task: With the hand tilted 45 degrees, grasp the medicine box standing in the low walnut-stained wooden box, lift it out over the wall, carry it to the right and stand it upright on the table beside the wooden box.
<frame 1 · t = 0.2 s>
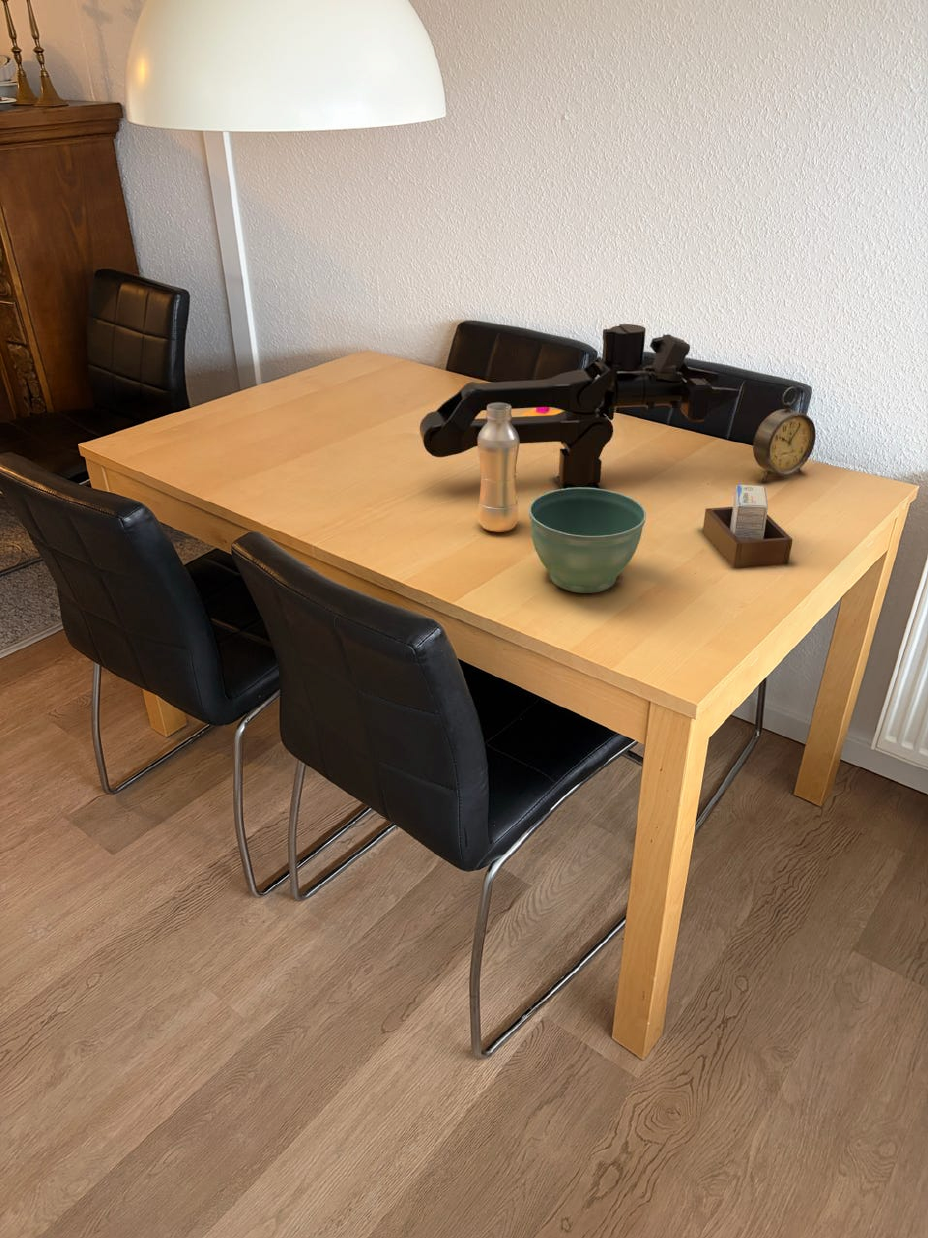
hand: (728, 384, 166), 17 cm above the table, tool horizontal, fingers open, 9 cm apart
alarm clock: (776, 477, 174), on the table
medicine box: (743, 548, 150), resting in wooden box
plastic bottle: (497, 528, 156), on the table
wooden box: (744, 547, 150), on the table
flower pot: (582, 580, 141), on the table
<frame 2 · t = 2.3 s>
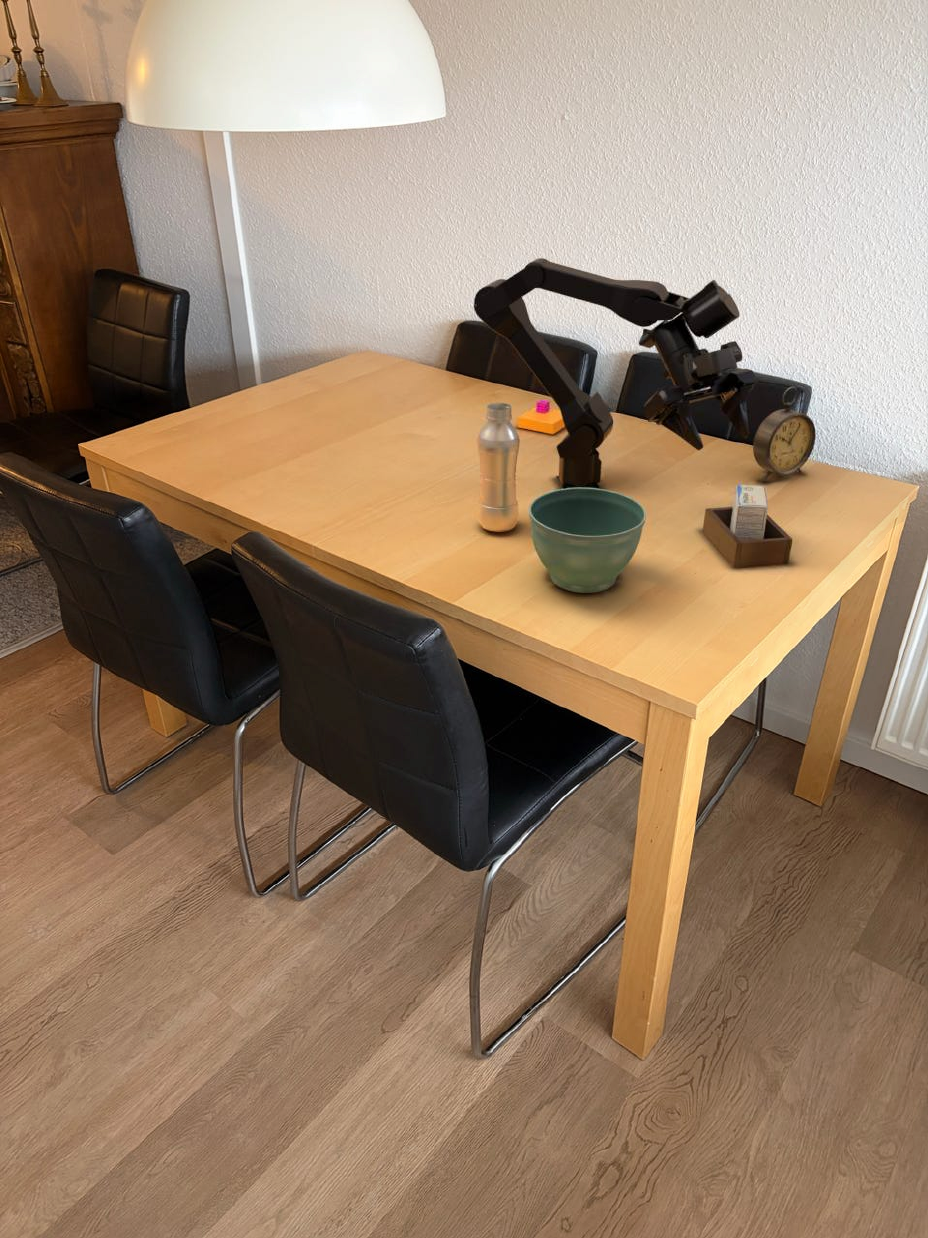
hand: (724, 442, 150), 14 cm above the table, tool tilted 45°, fingers open, 9 cm apart
nothing on the table moved.
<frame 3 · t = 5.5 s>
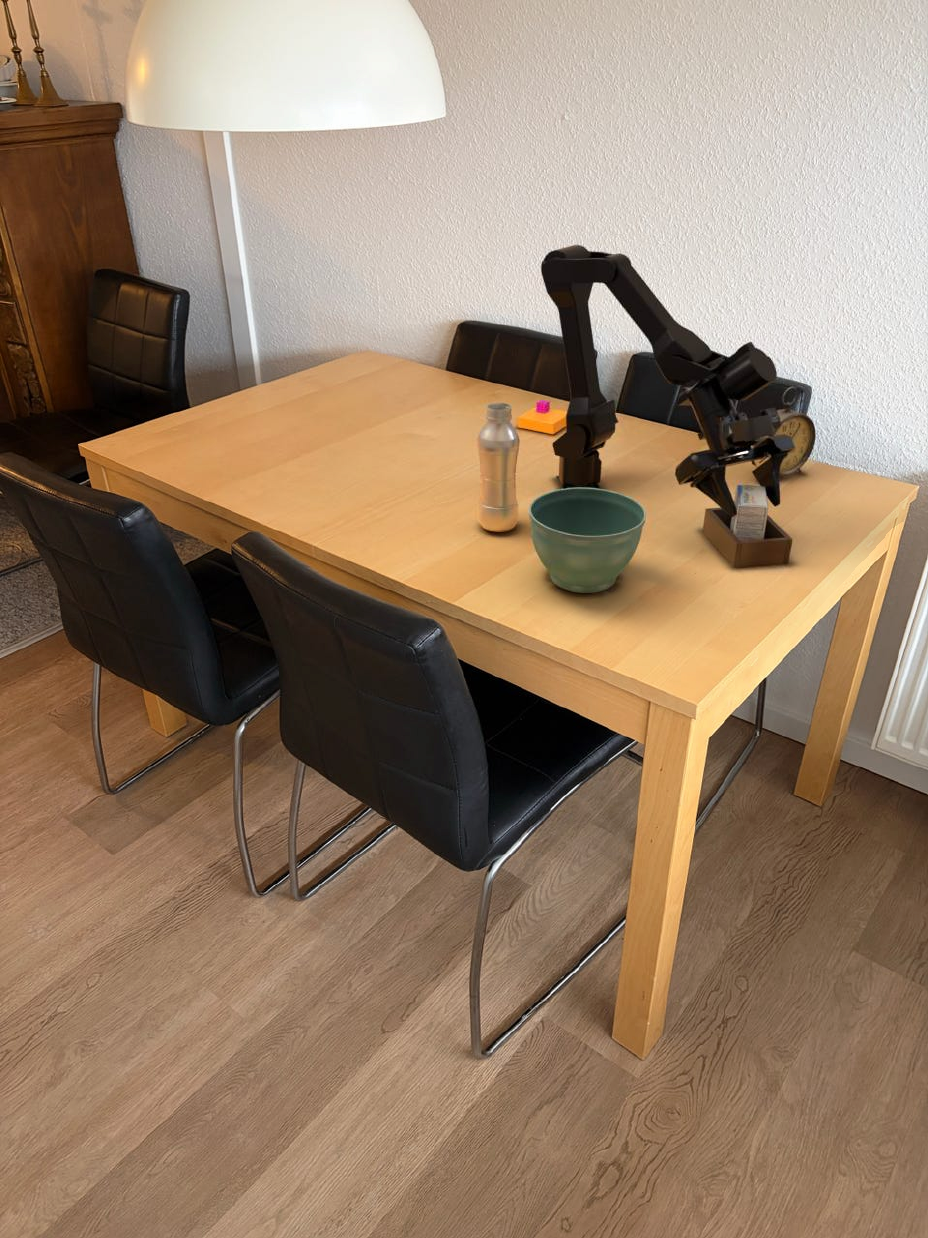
hand: (756, 510, 145), 7 cm above the table, tool tilted 45°, fingers closed on medicine box, 8 cm apart
medicine box: (743, 548, 150), resting in wooden box, touching gripper
everything else where it was.
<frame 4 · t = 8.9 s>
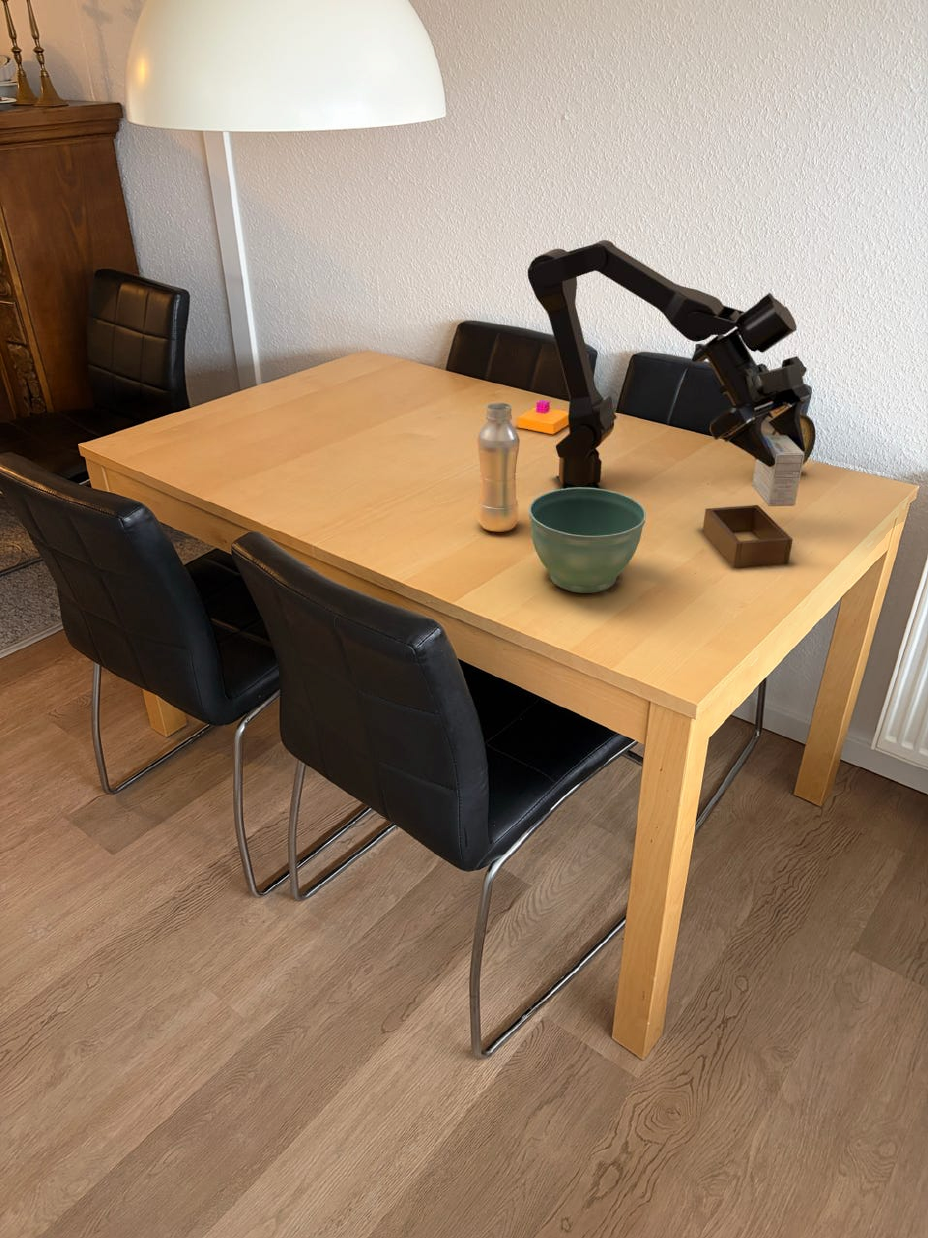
hand: (787, 458, 148), 12 cm above the table, tool tilted 45°, fingers closed on medicine box, 8 cm apart
medicine box: (772, 497, 152), point 5 cm above the table, touching gripper
everything else where it was.
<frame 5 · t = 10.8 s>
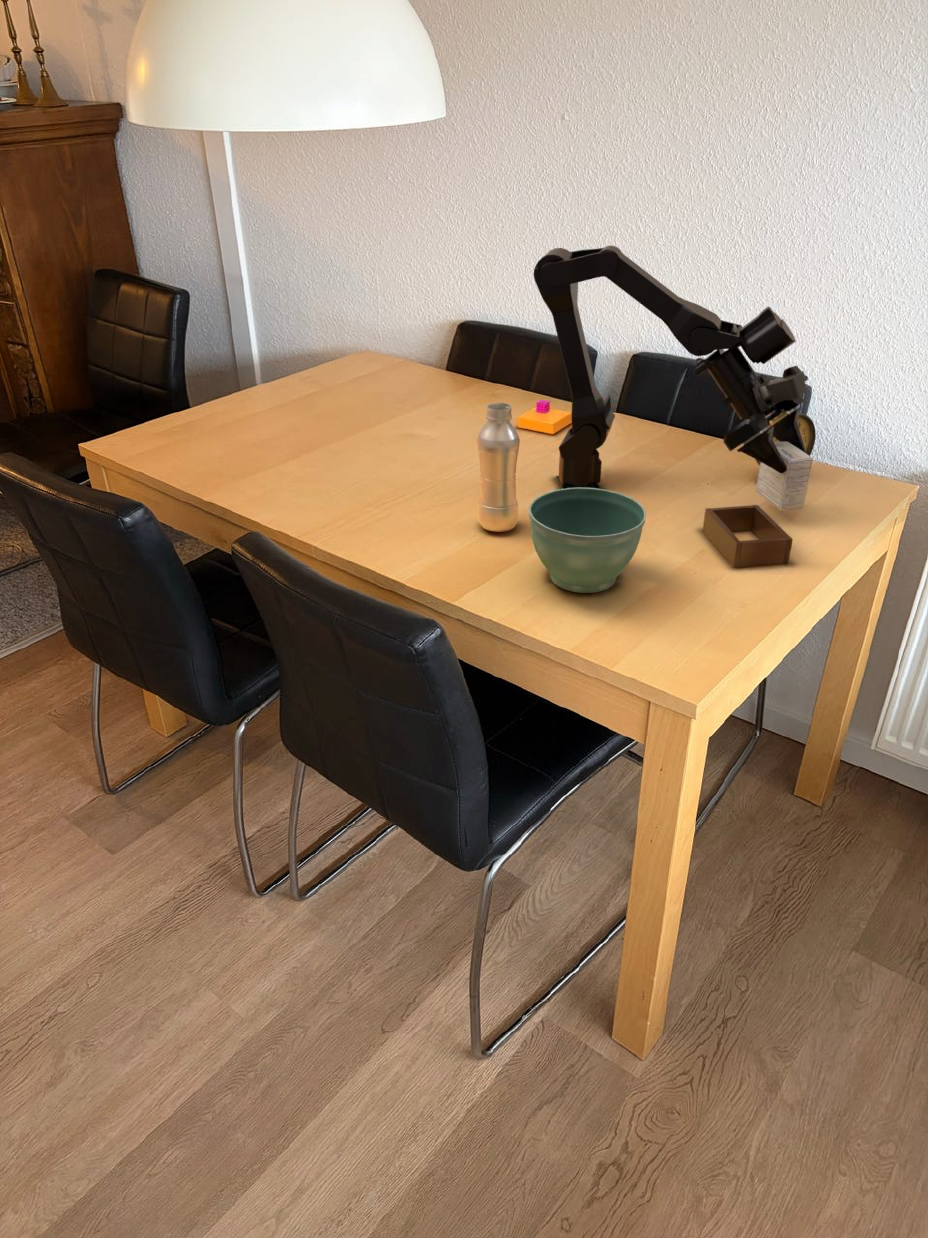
hand: (794, 464, 154), 9 cm above the table, tool tilted 45°, fingers closed on medicine box, 8 cm apart
medicine box: (778, 501, 158), point 2 cm above the table, touching gripper
everything else where it was.
when the fingers open (7 cm above the table, at t = 12.2 s): medicine box stays where it is, on the table.
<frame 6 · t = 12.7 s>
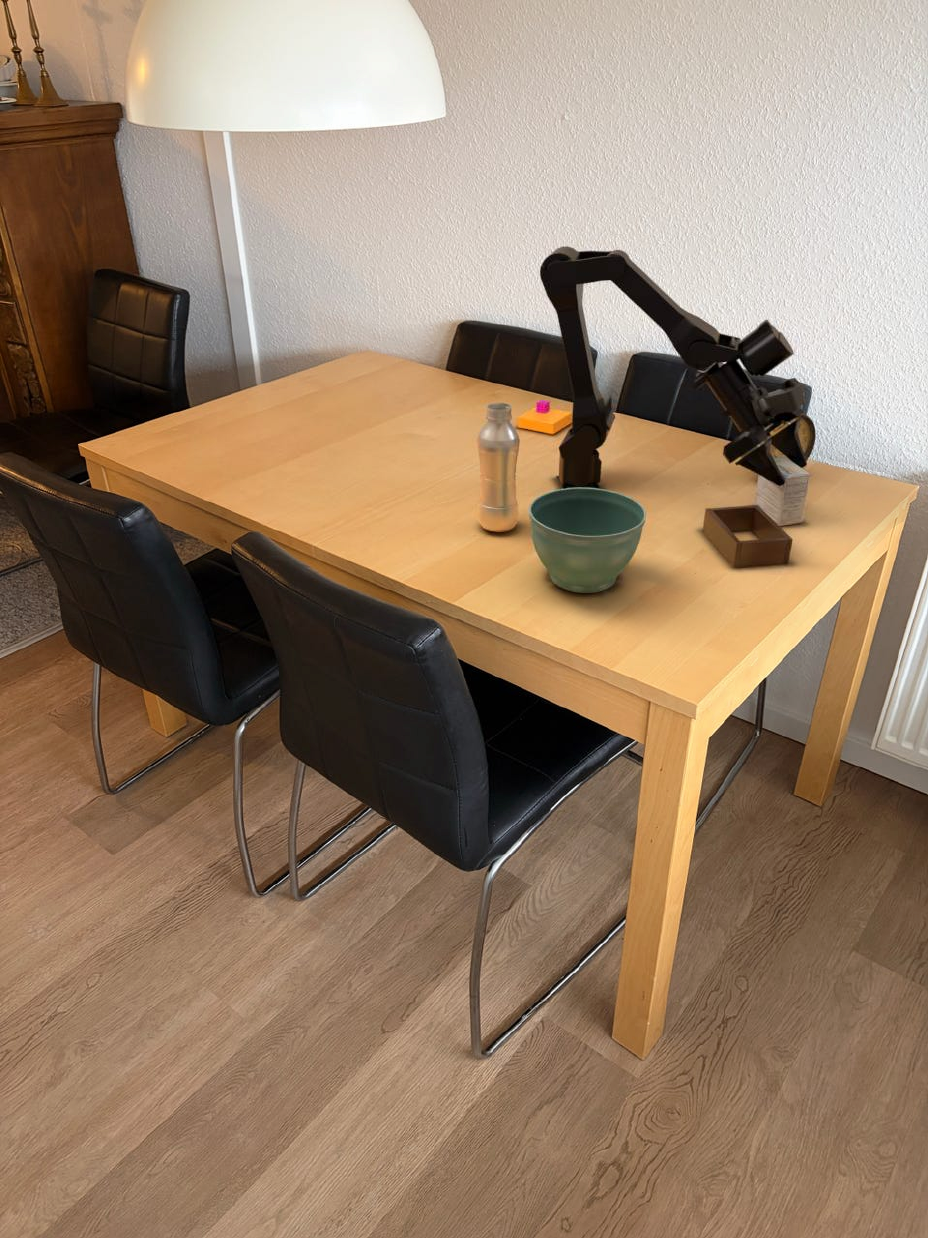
hand: (793, 475, 155), 7 cm above the table, tool tilted 45°, fingers open, 9 cm apart
medicine box: (776, 516, 160), on the table
everything else where it was.
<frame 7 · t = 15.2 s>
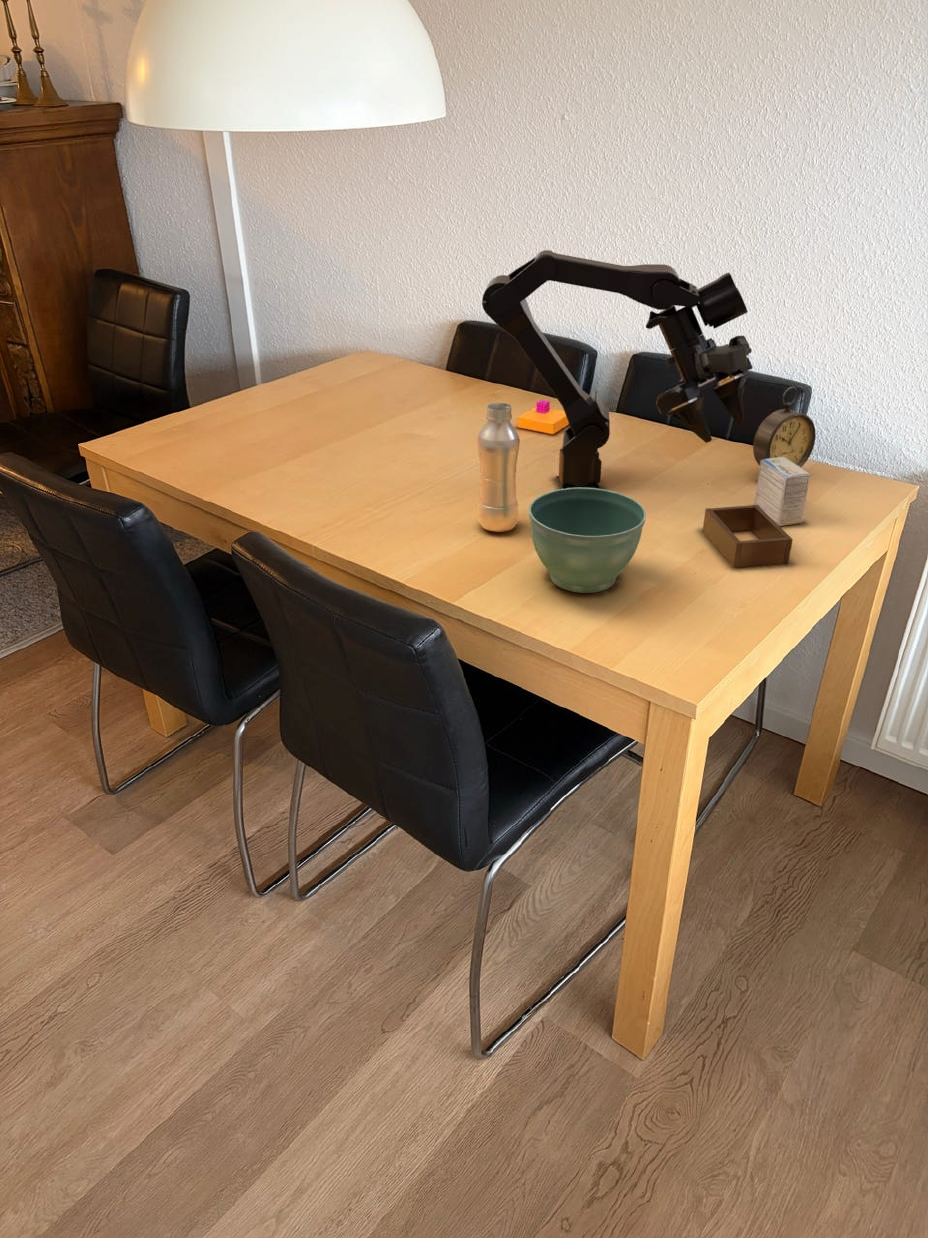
hand: (725, 432, 158), 12 cm above the table, tool tilted 35°, fingers open, 9 cm apart
nothing on the table moved.
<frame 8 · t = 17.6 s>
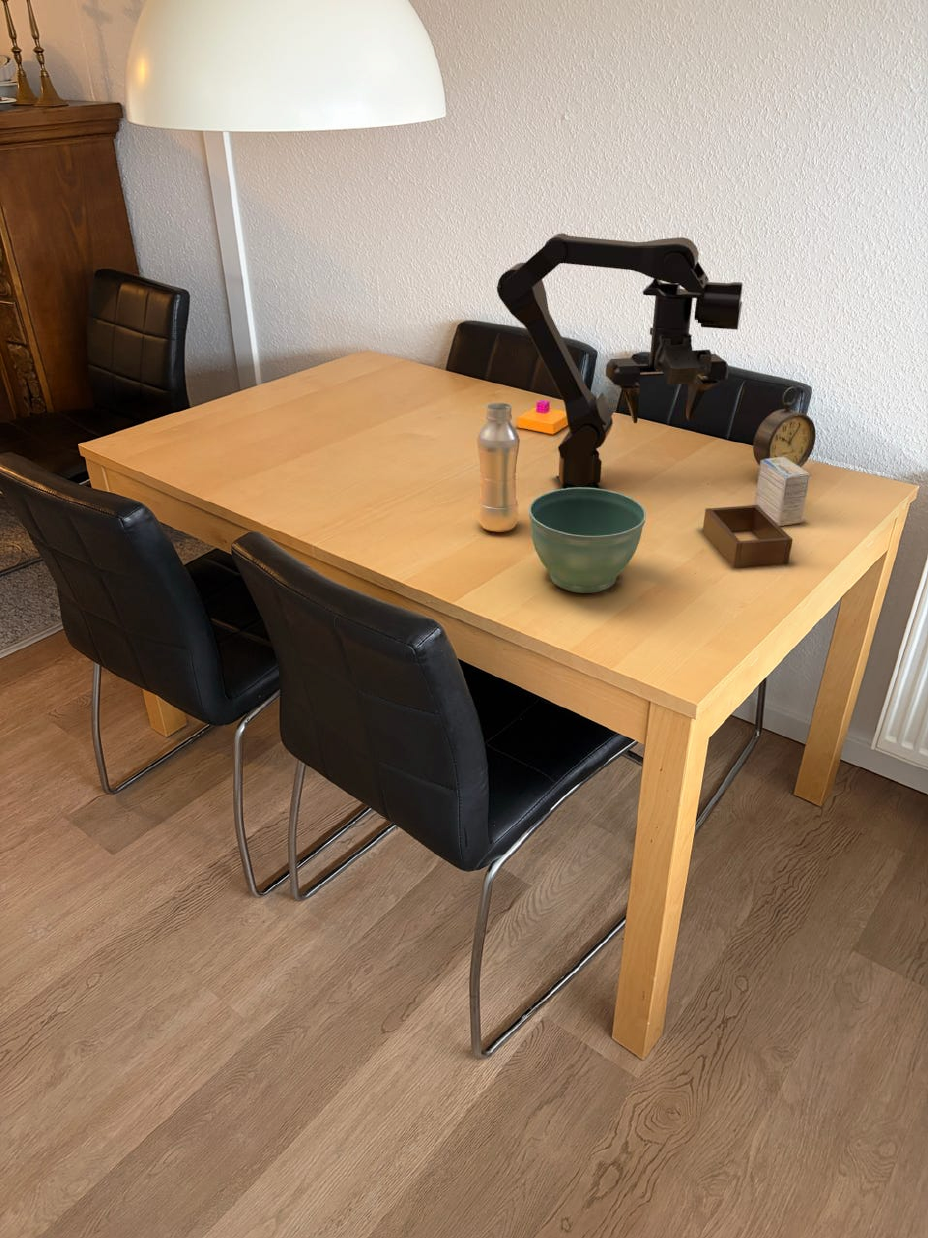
hand: (661, 420, 161), 13 cm above the table, tool pointing down, fingers open, 9 cm apart
nothing on the table moved.
at the end: medicine box inside the target area (0.1 cm from its centre), on the table; medicine box tilted 0°; the gripper is holding nothing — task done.
